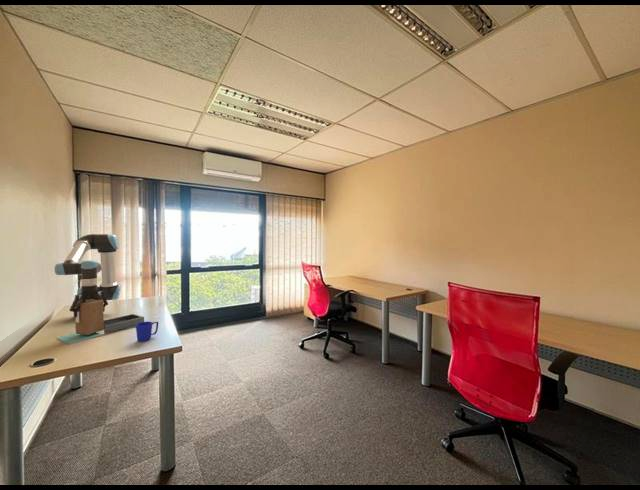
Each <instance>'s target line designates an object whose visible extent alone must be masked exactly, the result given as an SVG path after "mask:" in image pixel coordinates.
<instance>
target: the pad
mask: <svg viewBox="0 0 640 490" xmlns="http://www.w3.org/2000/svg"><path fill="white" fill-rule="evenodd" d="M99 337H103V334H101V333H99V332H96V333H93V334H90V335H83V334H76V332H75V333H71V334H66V335H63V336H62V335H61V336H59V337H56V339H57V340H58V341H61V342H63V343H65V344H67V345H72V344H77V343H79V342H83V341H87V340H92V339H95V338H99Z"/></svg>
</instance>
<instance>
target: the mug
mask: <svg viewBox="0 0 640 490" xmlns="http://www.w3.org/2000/svg"><path fill="white" fill-rule="evenodd" d="M154 324H156V326H155V331H154V332H153V331H152V329H153V325H154ZM158 329H159V321H153V322H152V321H144V322H141V323H138V324H136V326H135V331H136V333H135V334H136V339H137V341H138V342H140V343H141V342H142V343H144V342H147V341H149V340H151V339H152V336H154V335H156V334H157V333H158ZM152 332H153V333H152Z"/></svg>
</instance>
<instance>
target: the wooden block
mask: <svg viewBox="0 0 640 490" xmlns="http://www.w3.org/2000/svg"><path fill="white" fill-rule="evenodd" d="M79 304H80V302H77V304H76V306H77V305H79ZM103 304H104V303H103V300H95V299H93V300H86V301H85V302H83V303H81V307H80V309H79V310H78V311H79V322H76V321H75V333H76V334H83V335H90V334H93V333H99V332H101V331H103V330H104V322H103V320H104V312H103Z"/></svg>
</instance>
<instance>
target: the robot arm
mask: <svg viewBox="0 0 640 490" xmlns="http://www.w3.org/2000/svg"><path fill="white" fill-rule="evenodd" d="M119 242H120V241H119V239H118V236H117V235H116V234H112V233H111V234H109V233H107V234H105V233H102V234H100V233H98V234H97V233H96V234H95V233H92V234H89V233H88V234H87V235H83V236H81V237H80V238H77V239H76V240H75V241H74V243H73V245H72V248H71V251H70V252H69V254H68V256H67V257H66V258H65V260H64V262H63V263H62V262H61V263H56V264H55V265H54V273H55V275H57V276H74V275H81V277H80V278H81V287H80V286H79V288H78V289H77V291H76V294H74V299H73V301H72V304H71V305H70V308H69V310H68V311H69V312H73V318H75V323H76V322H79V311H78V310H79V309H80V307H81V303H83V302H85V301H86V300H93V299H95V300H103V313H104V312H105V310H106V308H105V307H106V306H108V305H109V302H108V301H115V300H118V299H119V297H120V294H121V289H122V286H121V285H120V284H119V283H118V282H117V279H116V266H115V265H116V262H115V253H116V252H117V250H118V249H119V248H120V244H119ZM90 250H97V253H98V254H99V255H100V257H99V258H100V262H98V261H97V260H94V259H93V260H90V259H89V260H83V258H84V256H85V254H86V253H87V252H88V251H90ZM99 273H101V275H100V276H101V283H100V284H99V286H98V285H97V284H98V274H99ZM77 302H80V304H79V305H77V306H76V304H77Z"/></svg>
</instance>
